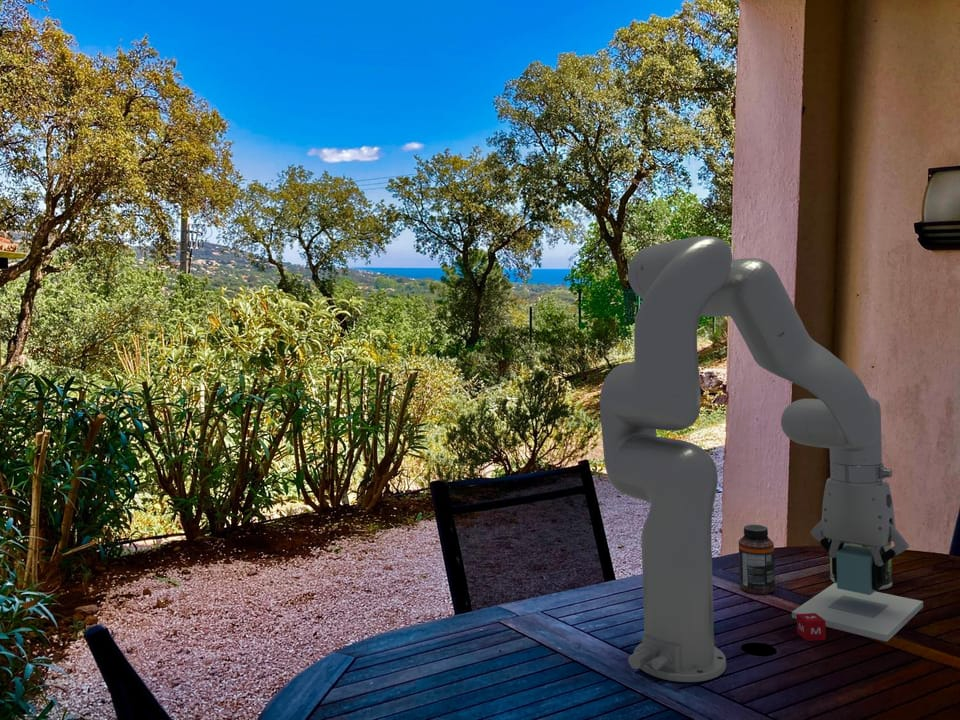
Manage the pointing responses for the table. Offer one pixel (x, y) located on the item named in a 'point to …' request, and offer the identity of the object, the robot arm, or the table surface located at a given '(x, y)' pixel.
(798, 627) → the red letter cube
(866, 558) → the teal block
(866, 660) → the table surface
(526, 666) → the table surface
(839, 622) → the pad
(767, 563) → the supplement bottle
